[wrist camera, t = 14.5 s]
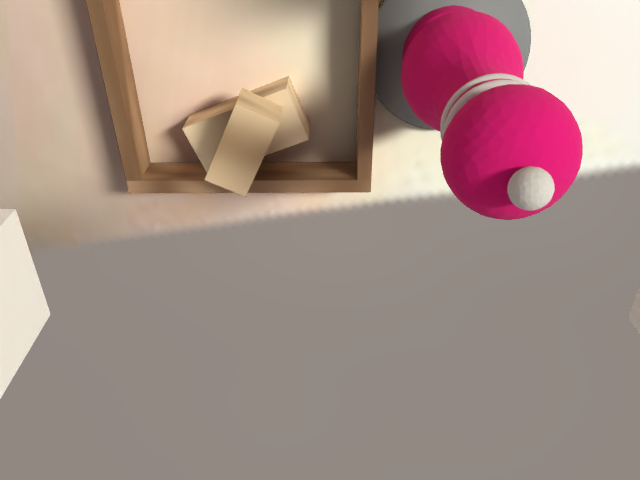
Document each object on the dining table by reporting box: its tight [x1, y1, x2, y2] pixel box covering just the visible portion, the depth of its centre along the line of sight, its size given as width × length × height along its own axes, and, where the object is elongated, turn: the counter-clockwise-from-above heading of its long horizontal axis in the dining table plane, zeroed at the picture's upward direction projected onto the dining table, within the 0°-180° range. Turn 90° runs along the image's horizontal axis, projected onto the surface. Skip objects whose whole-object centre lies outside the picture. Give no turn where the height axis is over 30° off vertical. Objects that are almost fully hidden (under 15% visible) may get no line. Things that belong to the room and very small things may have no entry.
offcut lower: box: [182, 76, 310, 172], centre depth 42 cm, size 8×4×3 cm, turn 112°
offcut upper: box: [205, 88, 283, 197], centre depth 39 cm, size 6×3×3 cm, turn 154°
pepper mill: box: [401, 5, 582, 220], centre depth 30 cm, size 7×7×20 cm
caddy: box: [86, 0, 379, 193], centre depth 38 cm, size 18×19×3 cm
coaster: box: [375, 0, 531, 129], centre depth 39 cm, size 11×11×1 cm
